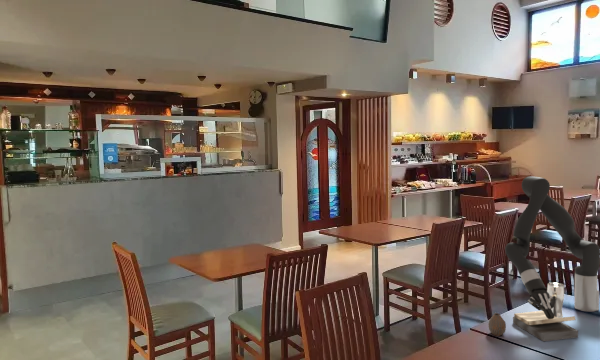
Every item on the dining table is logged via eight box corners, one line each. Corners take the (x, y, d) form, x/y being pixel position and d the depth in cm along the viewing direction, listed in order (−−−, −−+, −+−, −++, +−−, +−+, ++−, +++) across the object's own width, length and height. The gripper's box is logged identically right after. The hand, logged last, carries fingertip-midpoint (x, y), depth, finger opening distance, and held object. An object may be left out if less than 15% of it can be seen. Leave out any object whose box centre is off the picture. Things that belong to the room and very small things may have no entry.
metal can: (559, 313, 217) (560, 282, 216) (566, 318, 210) (567, 286, 209) (544, 313, 218) (544, 282, 217) (550, 318, 211) (551, 286, 210)
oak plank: (529, 325, 196) (528, 321, 197) (560, 321, 199) (559, 318, 199) (543, 323, 188) (542, 319, 188) (575, 320, 190) (574, 316, 191)
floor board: (512, 323, 207) (513, 313, 207) (544, 319, 210) (544, 310, 209) (543, 341, 187) (543, 330, 187) (577, 337, 190) (578, 327, 190)
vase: (491, 329, 201) (491, 310, 200) (507, 333, 197) (507, 313, 196) (486, 334, 196) (486, 314, 195) (503, 338, 191) (503, 318, 191)
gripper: (523, 278, 201) (541, 315, 189) (550, 276, 203) (570, 313, 192) (515, 287, 206) (533, 323, 195) (541, 284, 208) (560, 320, 197)
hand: (551, 318), depth 193 cm, fingers closed
